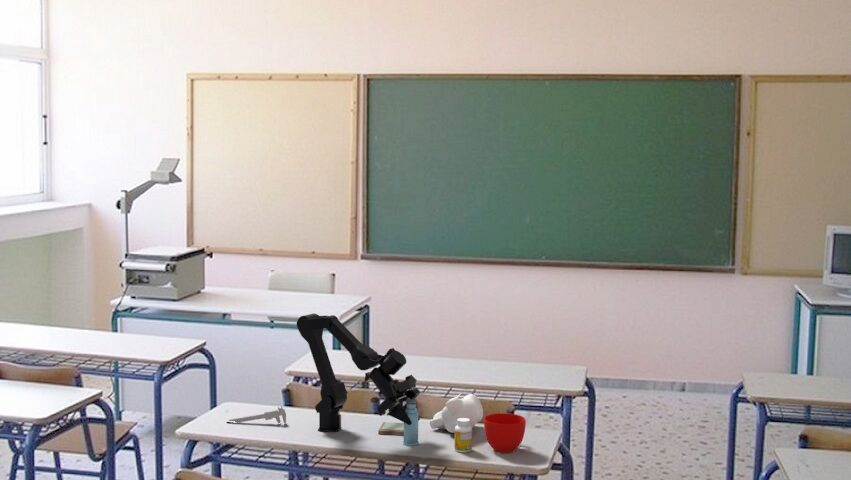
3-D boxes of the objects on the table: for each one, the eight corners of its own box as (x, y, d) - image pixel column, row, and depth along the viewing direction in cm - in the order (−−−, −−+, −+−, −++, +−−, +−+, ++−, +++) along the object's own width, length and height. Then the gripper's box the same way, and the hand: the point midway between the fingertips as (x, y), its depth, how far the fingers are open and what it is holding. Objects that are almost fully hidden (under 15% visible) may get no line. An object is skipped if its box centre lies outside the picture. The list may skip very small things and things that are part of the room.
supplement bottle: (453, 447, 316) (453, 417, 315) (470, 447, 316) (470, 417, 316) (455, 452, 311) (455, 422, 310) (472, 452, 311) (473, 421, 310)
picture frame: (378, 433, 330) (378, 429, 330) (383, 425, 340) (383, 421, 340) (408, 435, 329) (408, 431, 329) (412, 426, 339) (412, 422, 339)
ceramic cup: (530, 442, 322) (531, 411, 321) (521, 458, 306) (521, 426, 305) (490, 439, 326) (491, 408, 325) (479, 454, 310) (479, 422, 309)
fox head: (431, 400, 346) (416, 411, 326) (475, 385, 342) (464, 395, 322) (443, 437, 345) (430, 450, 326) (489, 423, 341) (477, 435, 322)
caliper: (286, 424, 342) (286, 406, 341) (285, 425, 340) (285, 406, 340) (226, 423, 342) (226, 404, 341) (225, 423, 341) (225, 405, 340)
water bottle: (401, 445, 318) (402, 402, 316) (404, 441, 322) (404, 398, 321) (417, 446, 317) (417, 402, 316) (419, 441, 322) (420, 398, 321)
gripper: (385, 374, 311) (415, 414, 307) (415, 363, 327) (445, 400, 323) (363, 395, 316) (393, 435, 312) (394, 383, 332) (423, 421, 328)
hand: (414, 422), depth 318 cm, fingers closed on water bottle, 5 cm apart
